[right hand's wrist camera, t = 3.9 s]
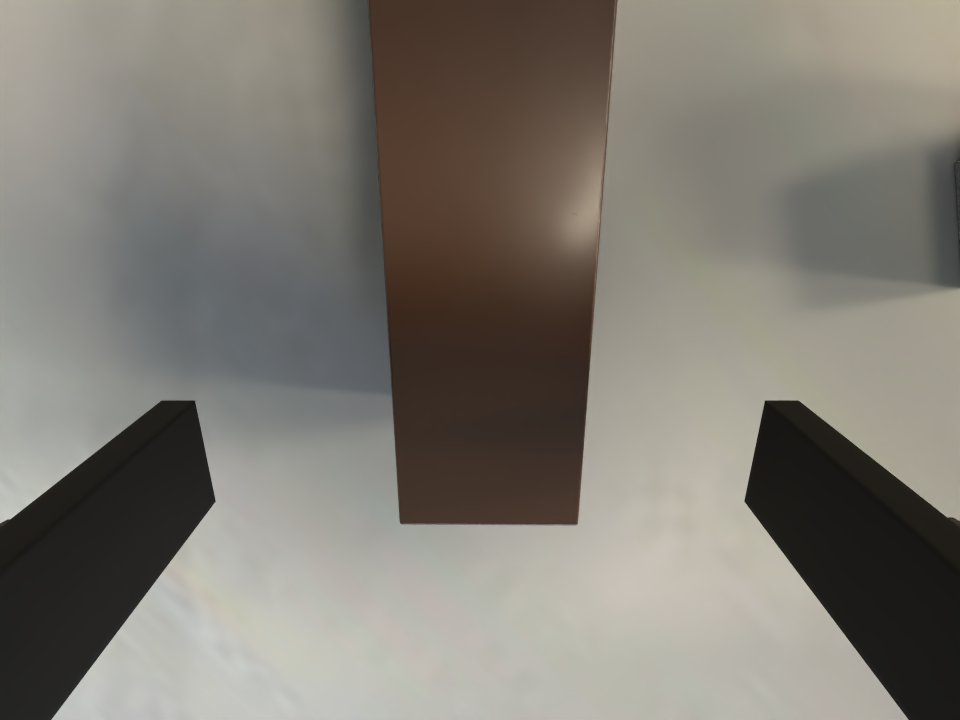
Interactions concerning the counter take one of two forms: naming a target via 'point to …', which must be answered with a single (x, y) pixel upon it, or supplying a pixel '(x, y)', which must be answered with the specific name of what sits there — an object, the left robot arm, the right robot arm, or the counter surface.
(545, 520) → the walnut bar
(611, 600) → the counter surface
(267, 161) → the counter surface
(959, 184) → the grey block
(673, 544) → the counter surface
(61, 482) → the right robot arm
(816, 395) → the counter surface
